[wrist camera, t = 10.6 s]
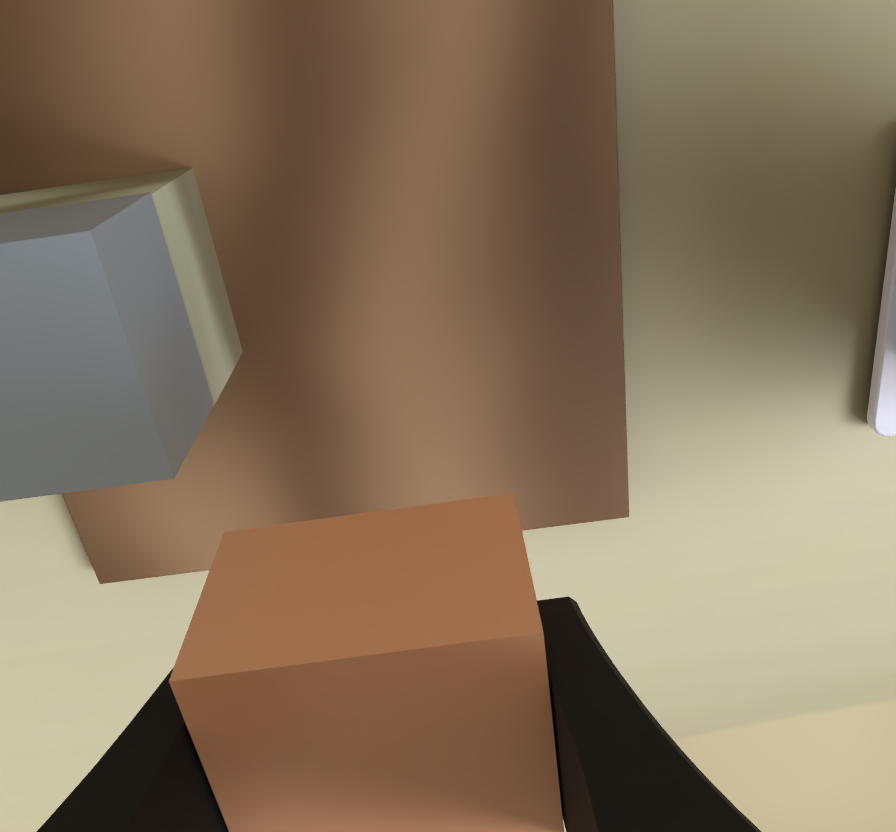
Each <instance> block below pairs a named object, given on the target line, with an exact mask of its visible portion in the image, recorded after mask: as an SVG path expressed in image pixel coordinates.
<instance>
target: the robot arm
mask: <svg viewBox="0 0 896 832" xmlns="http://www.w3.org/2000/svg"><path fill="white" fill-rule="evenodd" d="M867 423H868V424H869V426H870V427H871V428H872V429H873V430H874V431H875V432H876V433H878V434H880V435H882V436H894V435H896V189H895V197H894V205H893V213H892V221H891V229H890V237H889V245H888V253H887V261H886V269H885V277H884V285H883V292H882V300H881V308H880V316H879V324H878V332H877V340H876V348H875V356H874V364H873V372H872V380H871V388H870V396H869V404H868V412H867ZM537 605H538V609H539V614H540V619H541V623H542V628H543V633H544V643H545V652H546V662H547V672H548V682H549V691H550V701H551V711H552V720H553V730H554V740H555V749H556V759H557V769H558V779H559V788H560V798H561V808H562V816H563V820H564V824H565V828H566V831H567V832H761V831H760V830H759V829H758V828H757V827H756V826H755V825H754V824H753V823H752V822H751V821H750V820H748V819H747V818H746V817H745V816H744V815H743V814H742V813H741V812H740V811H739V810H738V809H737V808H736V807H735V806H734V805H733V804H732V803H731V802H730V801H729V800H728V799H727V798H726V797H725V796H724V795H723V794H722V793H721V792H720V791H719V790H718V789H717V788H716V787H715V786H714V785H713V784H712V783H711V782H710V781H709V780H708V778H706V776H705V775H704V774H703V773H702V772H701V771H700V770H699V769H698V768H697V767H696V766H695V764H694V763H693V762H692V761H691V760H690V759H689V758H688V757H687V756H686V754H685V753H684V752H683V751H682V750H681V749H680V748H679V747H678V745H677V744H676V743H675V742H674V741H673V739H672V738H671V737H670V736H669V735H668V734H667V732H666V731H665V730H664V729H663V728H662V727H661V725H660V724H659V723H658V722H657V720H656V719H655V718H654V717H653V716H652V714H651V713H650V712H649V711H648V709H647V708H646V707H645V706H644V704H643V703H642V702H641V700H640V699H639V698H638V696H637V695H636V694H635V692H634V691H633V690H632V688H631V687H630V686H629V684H628V683H627V682H626V680H625V679H624V678H623V677H622V675H621V674H620V672H619V671H618V669H617V668H616V667H615V665H614V664H613V662H612V661H611V659H610V658H609V656H608V655H607V653H606V652H605V650H604V649H603V647H602V646H601V644H600V643H599V641H598V640H597V638H596V637H595V635H594V633H593V632H592V630H591V628H590V627H589V625H588V623H587V621H586V620H585V618H584V616H583V614H582V612H581V610H580V608H579V606H578V604H577V602H576V601H574V600H573V599H571V598H570V597H563V598H555V599H547V600H539V601H537ZM173 669H174V668H173ZM173 669H172V670H171V671H170V673H169V674H168V675H167V677H166V678H165V679H164V680H163V682H162V683H161V684H160V685H159V687H158V688H157V689H156V691H155V692H154V693H153V694H152V696H151V697H150V698H149V700H148V701H147V702H146V703H145V705H144V706H143V707H142V708H141V710H140V711H139V712H138V713H137V715H136V716H135V717H134V719H133V720H132V721H131V722H130V724H129V725H128V726H127V727H126V728H125V730H124V731H123V732H122V733H121V735H120V736H119V737H118V738H117V740H116V741H115V742H114V743H113V744H112V746H111V747H110V748H109V749H108V751H107V752H106V753H105V754H104V755H103V757H102V758H101V759H100V760H99V762H98V763H97V764H96V765H95V766H94V768H93V769H92V770H91V771H90V772H89V773H88V775H87V776H86V777H85V778H84V779H83V780H82V781H81V782H80V784H79V785H78V786H77V787H76V788H75V789H74V790H73V792H72V793H71V794H70V795H69V796H68V797H67V798H66V799H65V801H64V802H63V803H62V804H61V805H60V806H59V807H58V809H57V810H56V811H55V812H54V813H53V814H52V815H51V817H50V818H49V819H48V820H47V821H46V822H45V823H44V824H43V825H42V826H41V828H40V829H39V830H38V831H37V832H229V830H228V828H227V825H226V823H225V820H224V818H223V815H222V813H221V810H220V808H219V805H218V803H217V800H216V798H215V795H214V793H213V790H212V788H211V785H210V783H209V780H208V778H207V775H206V773H205V770H204V768H203V765H202V763H201V760H200V758H199V755H198V753H197V750H196V748H195V746H194V743H193V741H192V738H191V736H190V733H189V731H188V728H187V726H186V723H185V721H184V718H183V716H182V713H181V711H180V708H179V706H178V703H177V701H176V698H175V696H174V693H173V691H172V688H171V686H170V683H169V679H170V677H171V674H172V671H173Z"/></svg>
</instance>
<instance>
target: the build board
mask: <svg viewBox="0 0 896 832" xmlns="http://www.w3.org/2000/svg"><path fill="white" fill-rule="evenodd" d="M148 192H151V193H152V197H153V200H154V203H155V207H156V210H157V214H158V217H159V220H160V224H161V227H162V230H163V234H164V237H165V240H166V244H167V247H168V251H169V254H170V257H171V261H172V264H173V267H174V271H175V274H176V277H177V281H178V284H179V287H180V291H181V294H182V298H183V301H184V304H185V308H186V311H187V314H188V318H189V321H190V324H191V328H192V331H193V335H194V338H195V341H196V345H197V348H198V351H199V355H200V358H201V361H202V365H203V368H204V371H205V375H206V378H207V382H208V385H209V388H210V392H211V395H212V398H213V402H214V405H213V407H212V409H211V411H210V413H209V415H208V417H207V418H206V420H205V422H204V424H203V426H202V428H201V430H200V432H199V433H198V435H197V437H196V439H195V441H194V443H193V445H192V446H191V448H190V450H189V452H188V454H187V456H186V458H185V459H184V461H183V463H182V465H181V467H180V469H179V471H178V473H177V474H176V476H175V478H174V479H167V480H160V481H152V482H144V483H137V484H129V485H122V486H114V487H106V488H99V489H91V490H83V491H76V492H68V493H62V495H63V497H64V500H65V502H66V504H67V507H68V509H69V512H70V514H71V516H72V519H73V521H74V523H75V526H76V528H77V531H78V533H79V535H80V538H81V540H82V543H83V545H84V547H85V550H86V552H87V554H88V557H89V559H90V562H91V564H92V566H93V569H94V571H95V574H96V576H97V578H98V581H99V583H100V584H103V583H111V582H119V581H127V580H135V579H143V578H151V577H159V576H166V575H174V574H182V573H190V572H198V571H206V570H210V569H211V566H212V563H213V561H214V558H215V555H216V553H217V550H218V547H219V544H220V542H221V539H222V536H223V534H224V532H227V531H235V530H242V529H250V528H257V527H264V526H272V525H279V524H287V523H294V522H301V521H309V520H316V519H324V518H331V517H338V516H346V515H353V514H361V513H368V512H375V511H383V510H390V509H398V508H405V507H412V506H420V505H427V504H435V503H442V502H449V501H457V500H464V499H472V498H479V497H486V496H494V495H501V494H509V493H514V497H515V501H516V506H517V511H518V516H519V520H520V525H521V530H529V529H537V528H545V527H553V526H561V525H569V524H577V523H585V522H593V521H600V520H608V519H616V518H624V517H629V499H628V467H627V435H626V403H625V371H624V340H623V308H622V276H621V244H620V212H619V180H618V148H617V116H616V85H615V53H614V21H613V0H0V214H1V213H8V212H15V211H22V210H29V209H36V208H43V207H50V206H57V205H64V204H71V203H78V202H85V201H92V200H99V199H106V198H113V197H120V196H127V195H134V194H141V193H148Z"/></svg>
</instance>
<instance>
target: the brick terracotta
mask: <svg viewBox="0 0 896 832" xmlns="http://www.w3.org/2000/svg"><path fill="white" fill-rule="evenodd" d="M169 683H170V686H171V688H172V691H173V693H174V696H175V698H176V701H177V703H178V706H179V708H180V711H181V713H182V716H183V718H184V721H185V723H186V726H187V728H188V731H189V733H190V736H191V738H192V741H193V743H194V746H195V748H196V750H197V753H198V755H199V758H200V760H201V763H202V765H203V768H204V770H205V773H206V775H207V778H208V780H209V783H210V785H211V788H212V790H213V793H214V795H215V798H216V800H217V803H218V805H219V808H220V810H221V813H222V815H223V818H224V820H225V823H226V825H227V828H228V830H229V832H564V827H563V817H562V808H561V798H560V788H559V779H558V769H557V759H556V749H555V740H554V730H553V720H552V711H551V701H550V691H549V682H548V672H547V662H546V652H545V643H544V633H543V628H542V623H541V619H540V614H539V609H538V605H537V600H536V595H535V591H534V586H533V581H532V576H531V572H530V567H529V562H528V558H527V553H526V548H525V544H524V539H523V534H522V530H521V525H520V520H519V516H518V511H517V506H516V501H515V497H514V493H509V494H501V495H494V496H486V497H479V498H472V499H464V500H457V501H449V502H442V503H435V504H427V505H420V506H412V507H405V508H398V509H390V510H383V511H375V512H368V513H361V514H353V515H346V516H338V517H331V518H324V519H316V520H309V521H301V522H294V523H287V524H279V525H272V526H264V527H257V528H250V529H242V530H235V531H227V532H224V534H223V536H222V539H221V542H220V544H219V547H218V550H217V553H216V555H215V558H214V561H213V563H212V566H211V569H210V571H209V574H208V577H207V580H206V582H205V585H204V588H203V590H202V593H201V596H200V598H199V601H198V604H197V607H196V609H195V612H194V615H193V617H192V620H191V623H190V625H189V628H188V631H187V634H186V636H185V639H184V642H183V644H182V647H181V650H180V652H179V655H178V658H177V660H176V663H175V666H174V669H173V671H172V674H171V677H170V679H169Z"/></svg>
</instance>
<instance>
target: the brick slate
mask: <svg viewBox="0 0 896 832" xmlns="http://www.w3.org/2000/svg"><path fill="white" fill-rule="evenodd" d="M213 405H214V402H213V398H212V395H211V392H210V388H209V385H208V382H207V378H206V375H205V371H204V368H203V365H202V361H201V358H200V355H199V351H198V348H197V345H196V341H195V338H194V335H193V331H192V328H191V324H190V321H189V318H188V314H187V311H186V308H185V304H184V301H183V298H182V294H181V291H180V287H179V284H178V281H177V277H176V274H175V271H174V267H173V264H172V261H171V257H170V254H169V251H168V247H167V244H166V240H165V237H164V234H163V230H162V227H161V224H160V220H159V217H158V214H157V210H156V207H155V203H154V200H153V197H152V193H151V192H148V193H141V194H134V195H127V196H120V197H113V198H106V199H99V200H92V201H85V202H78V203H71V204H64V205H57V206H50V207H43V208H36V209H29V210H22V211H15V212H8V213H1V214H0V501H7V500H15V499H22V498H30V497H38V496H45V495H53V494H60V493H68V492H76V491H83V490H91V489H99V488H106V487H114V486H122V485H129V484H137V483H144V482H152V481H160V480H167V479H174V478H175V476H176V474H177V473H178V471H179V469H180V467H181V465H182V463H183V461H184V459H185V458H186V456H187V454H188V452H189V450H190V448H191V446H192V445H193V443H194V441H195V439H196V437H197V435H198V433H199V432H200V430H201V428H202V426H203V424H204V422H205V420H206V418H207V417H208V415H209V413H210V411H211V409H212V407H213Z"/></svg>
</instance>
